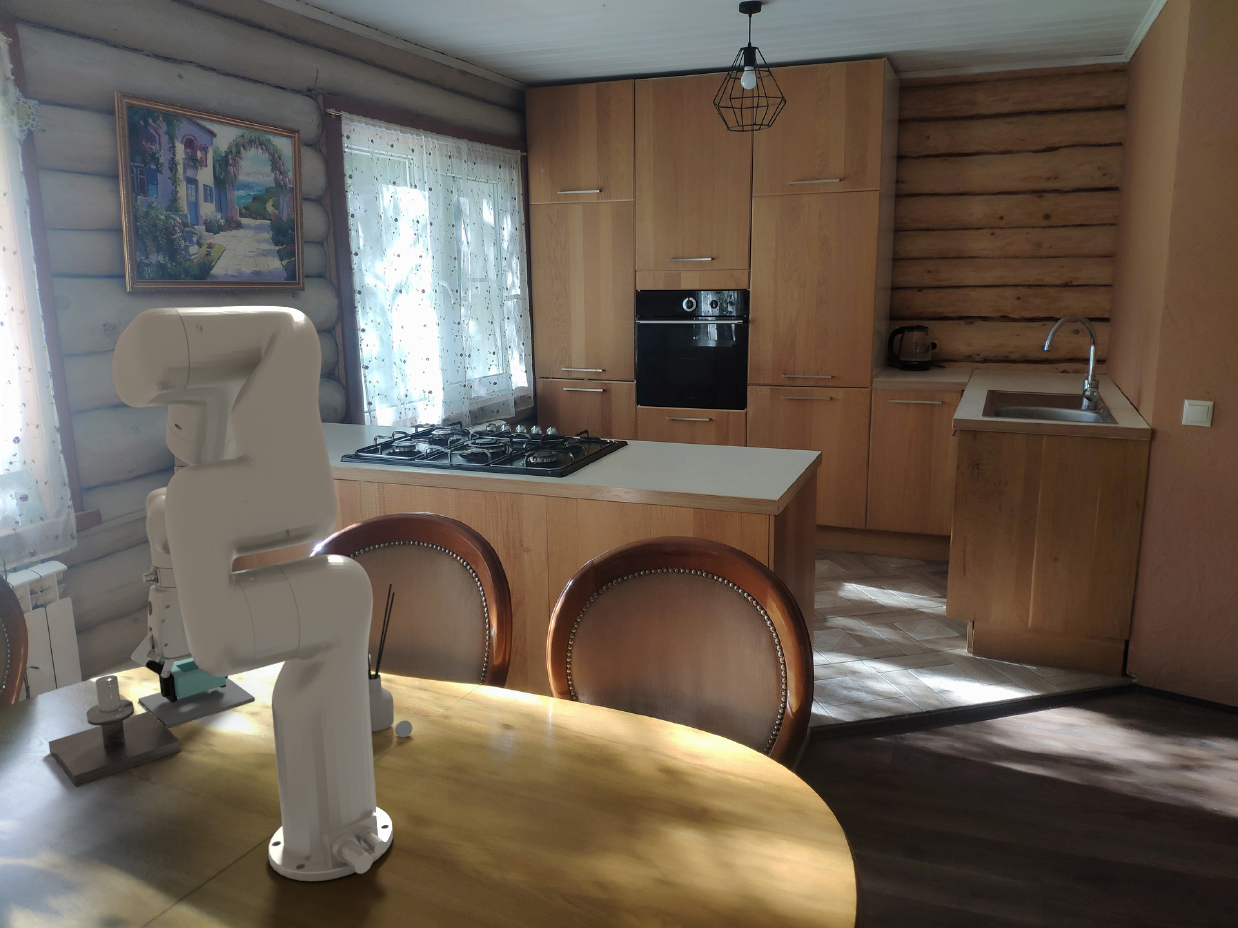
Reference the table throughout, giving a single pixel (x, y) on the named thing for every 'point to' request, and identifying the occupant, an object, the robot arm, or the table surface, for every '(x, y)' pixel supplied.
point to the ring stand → (112, 739)
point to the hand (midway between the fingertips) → (195, 690)
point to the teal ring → (193, 679)
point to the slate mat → (195, 704)
